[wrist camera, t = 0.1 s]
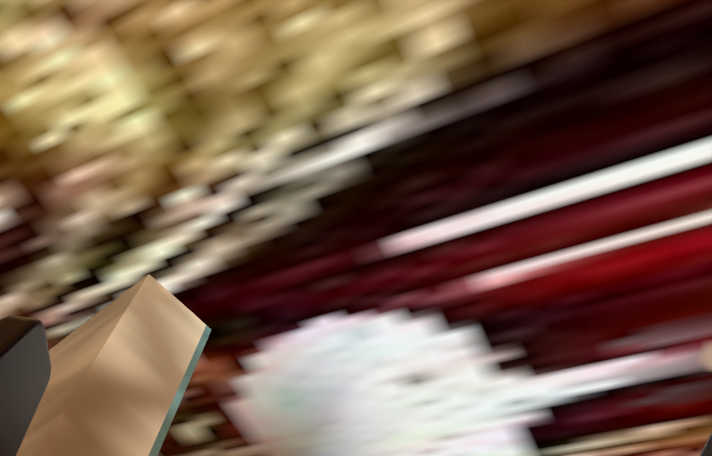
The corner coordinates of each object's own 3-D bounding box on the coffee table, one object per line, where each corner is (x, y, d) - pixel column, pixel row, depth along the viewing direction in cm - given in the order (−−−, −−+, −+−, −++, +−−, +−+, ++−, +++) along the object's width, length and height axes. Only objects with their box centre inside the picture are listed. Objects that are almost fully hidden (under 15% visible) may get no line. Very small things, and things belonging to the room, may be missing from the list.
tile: (211, 329, 28) (129, 520, 20) (93, 409, 31) (-17, 601, 23) (149, 273, 27) (36, 453, 19) (33, 362, 30) (-105, 548, 22)
